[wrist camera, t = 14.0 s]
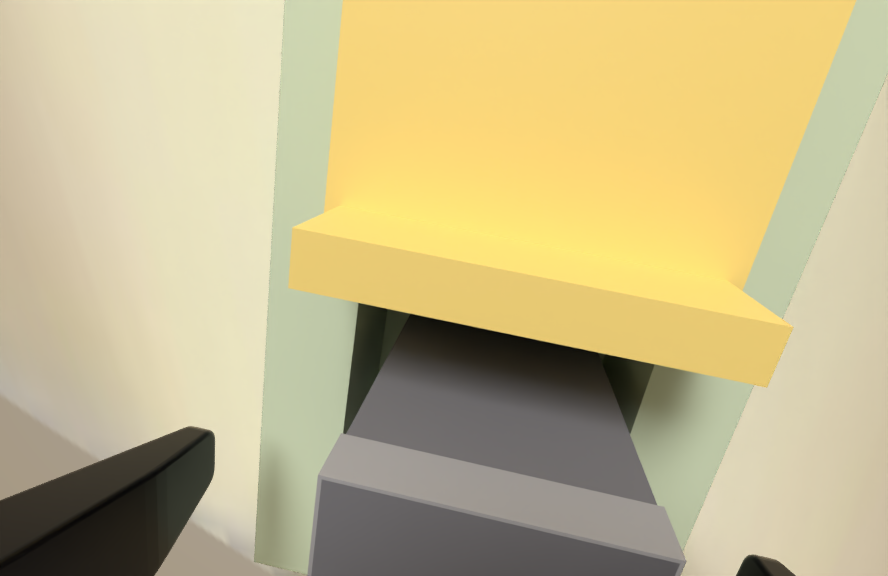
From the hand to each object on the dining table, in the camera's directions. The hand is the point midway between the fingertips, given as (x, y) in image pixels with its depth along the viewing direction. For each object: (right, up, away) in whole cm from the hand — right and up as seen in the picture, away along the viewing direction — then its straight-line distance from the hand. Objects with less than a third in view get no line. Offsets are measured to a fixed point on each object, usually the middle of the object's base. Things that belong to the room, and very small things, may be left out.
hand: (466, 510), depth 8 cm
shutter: (+1, +7, -1) cm, 7 cm away
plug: (+1, +1, +4) cm, 5 cm away
